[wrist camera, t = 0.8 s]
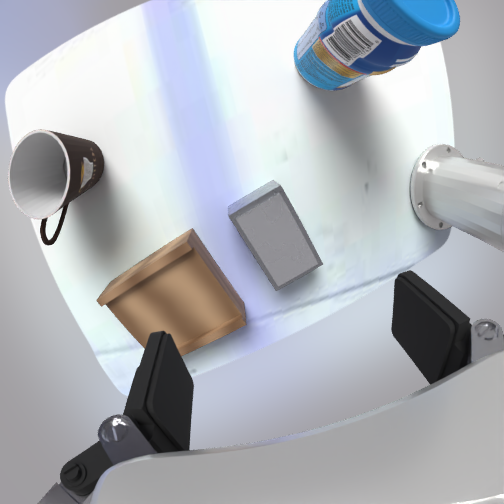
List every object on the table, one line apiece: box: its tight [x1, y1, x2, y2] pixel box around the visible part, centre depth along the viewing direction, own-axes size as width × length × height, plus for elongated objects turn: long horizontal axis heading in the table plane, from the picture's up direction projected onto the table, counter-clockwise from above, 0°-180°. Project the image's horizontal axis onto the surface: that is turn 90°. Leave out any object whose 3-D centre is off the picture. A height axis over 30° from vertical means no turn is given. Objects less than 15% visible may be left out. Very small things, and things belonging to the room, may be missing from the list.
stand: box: [96, 228, 246, 356], centre depth 34 cm, size 14×12×5 cm
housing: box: [228, 180, 323, 291], centre depth 32 cm, size 6×10×5 cm, turn 31°
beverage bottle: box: [294, 0, 460, 91], centre depth 18 cm, size 8×8×20 cm
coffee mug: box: [8, 129, 104, 245], centre depth 25 cm, size 12×9×10 cm
